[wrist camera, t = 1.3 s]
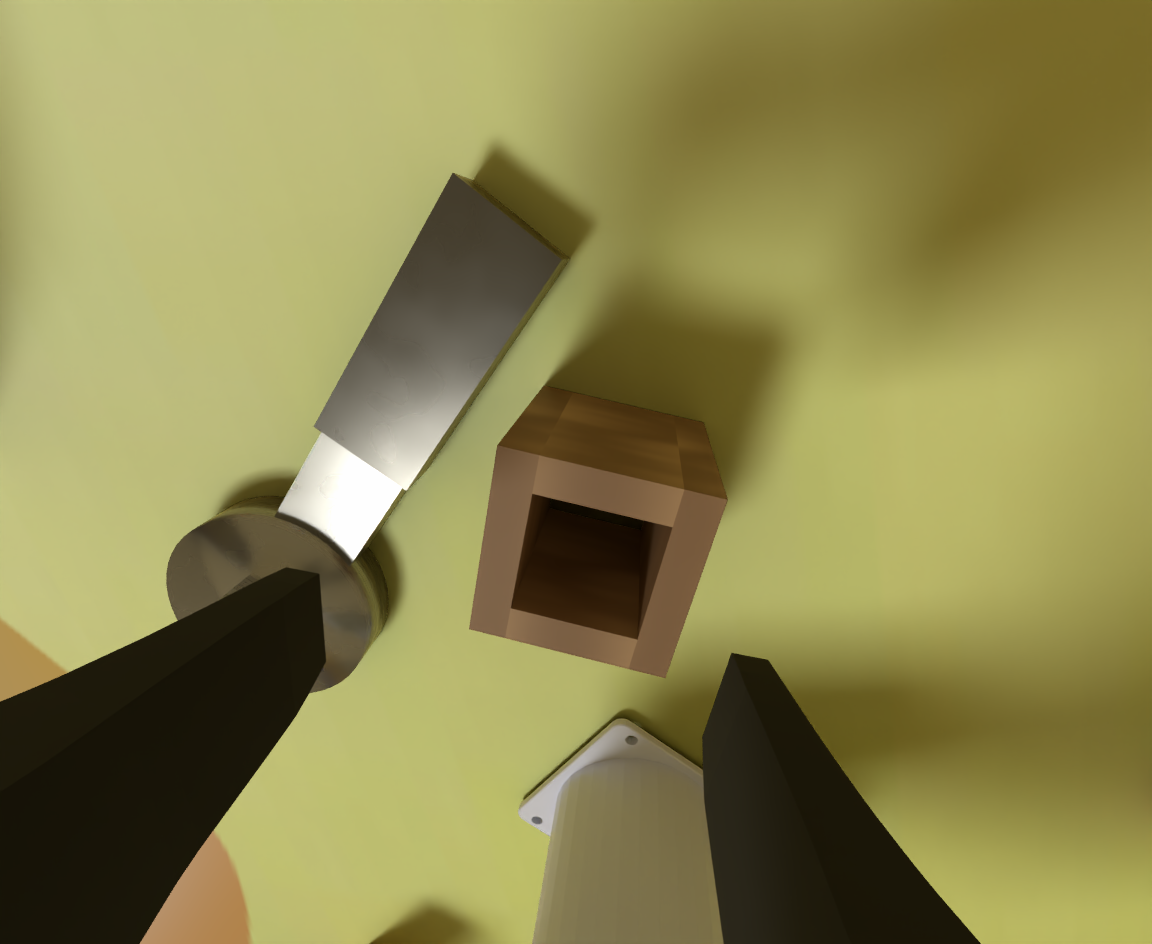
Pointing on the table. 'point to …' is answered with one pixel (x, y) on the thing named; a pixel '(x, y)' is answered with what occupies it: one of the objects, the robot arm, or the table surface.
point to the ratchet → (382, 422)
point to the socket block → (597, 530)
